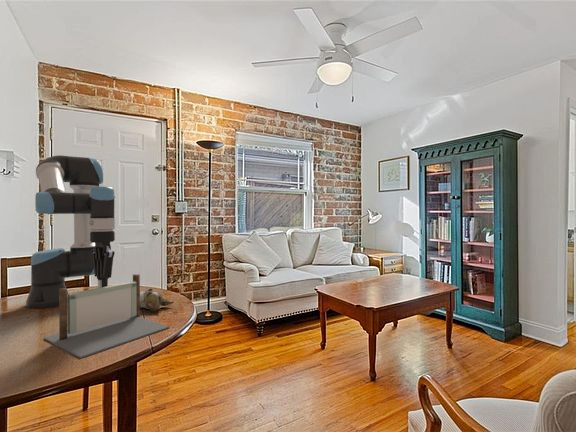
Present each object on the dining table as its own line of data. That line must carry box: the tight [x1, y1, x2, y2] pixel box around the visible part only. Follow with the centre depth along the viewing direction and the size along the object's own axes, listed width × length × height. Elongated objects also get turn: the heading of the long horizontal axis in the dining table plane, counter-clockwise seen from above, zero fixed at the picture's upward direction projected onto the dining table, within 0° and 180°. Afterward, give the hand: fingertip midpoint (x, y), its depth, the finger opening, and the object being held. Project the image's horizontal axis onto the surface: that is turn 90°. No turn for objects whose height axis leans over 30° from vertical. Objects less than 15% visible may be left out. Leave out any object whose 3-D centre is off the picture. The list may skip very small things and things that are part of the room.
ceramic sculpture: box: [140, 288, 175, 312], centre depth 133 cm, size 11×9×15 cm
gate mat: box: [43, 316, 170, 359], centre depth 106 cm, size 24×28×1 cm
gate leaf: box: [67, 281, 137, 334], centre depth 111 cm, size 22×2×12 cm, turn 146°
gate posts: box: [58, 273, 141, 340], centre depth 112 cm, size 2×28×16 cm, turn 152°
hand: (102, 297), depth 114 cm, fingers closed
